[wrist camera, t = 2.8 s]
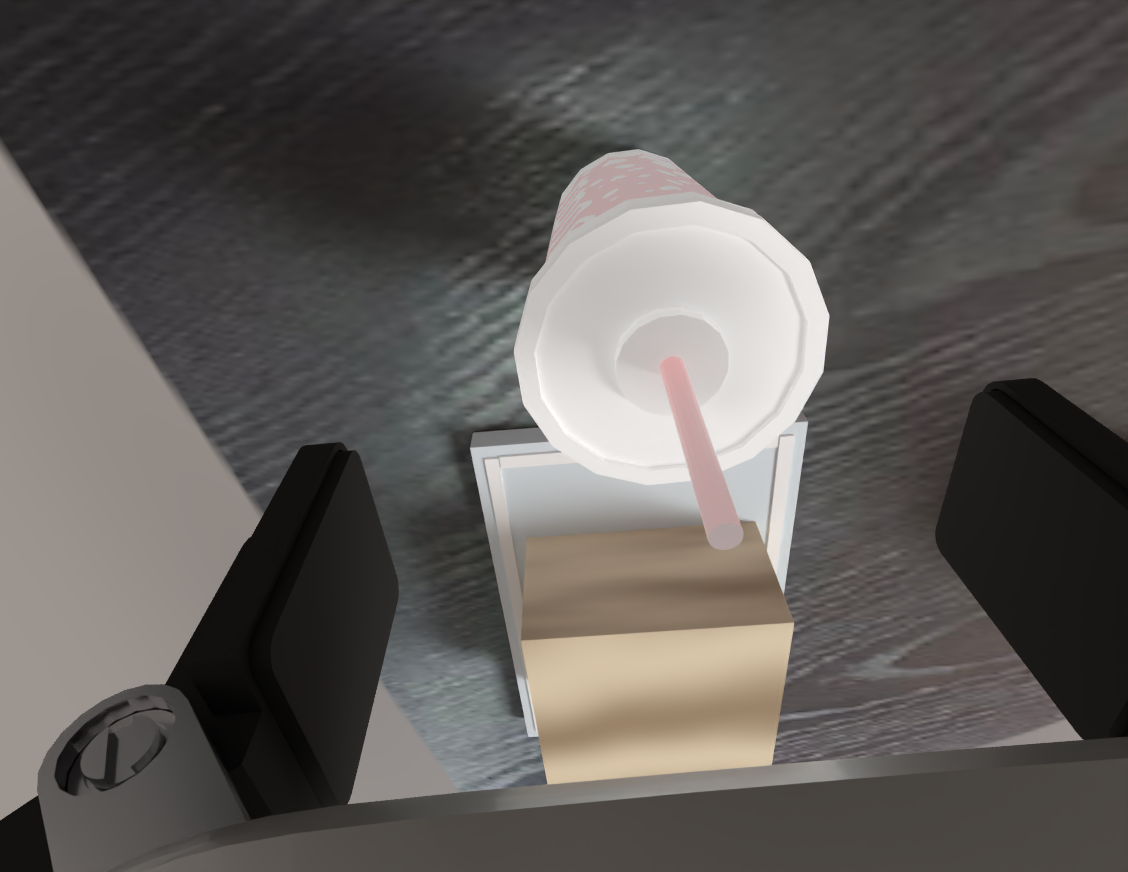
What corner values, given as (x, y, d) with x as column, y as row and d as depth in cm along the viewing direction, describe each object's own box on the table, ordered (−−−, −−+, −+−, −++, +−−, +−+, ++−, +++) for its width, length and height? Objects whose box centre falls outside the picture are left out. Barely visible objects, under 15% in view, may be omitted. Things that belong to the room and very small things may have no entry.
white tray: (473, 432, 24) (469, 449, 24) (799, 406, 24) (808, 423, 23) (529, 719, 34) (528, 738, 33) (760, 704, 34) (766, 724, 33)
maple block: (526, 538, 26) (520, 640, 22) (755, 521, 26) (794, 622, 21) (549, 679, 31) (547, 785, 27) (741, 667, 31) (770, 772, 26)
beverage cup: (649, 69, 18) (823, 198, 6) (765, 239, 21) (1040, 553, 9) (487, 218, 20) (394, 519, 8) (611, 354, 23) (670, 729, 11)
